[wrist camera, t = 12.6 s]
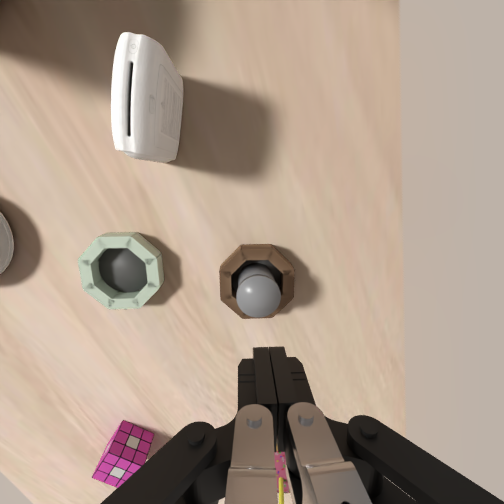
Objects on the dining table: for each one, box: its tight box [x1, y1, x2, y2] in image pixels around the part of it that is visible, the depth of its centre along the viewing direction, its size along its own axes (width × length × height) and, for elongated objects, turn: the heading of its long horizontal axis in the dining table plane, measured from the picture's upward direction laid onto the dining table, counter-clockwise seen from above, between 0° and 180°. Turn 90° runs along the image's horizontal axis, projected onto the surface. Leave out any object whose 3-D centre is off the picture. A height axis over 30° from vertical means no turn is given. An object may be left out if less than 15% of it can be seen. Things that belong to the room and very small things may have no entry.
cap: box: [236, 263, 281, 318], centre depth 38 cm, size 5×5×6 cm
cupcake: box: [274, 447, 290, 504], centre depth 44 cm, size 9×8×12 cm
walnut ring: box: [219, 244, 295, 319], centre depth 40 cm, size 10×10×2 cm
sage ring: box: [78, 232, 164, 309], centre depth 39 cm, size 10×10×2 cm
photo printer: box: [111, 32, 183, 163], centre depth 30 cm, size 10×4×12 cm, turn 171°
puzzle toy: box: [92, 420, 154, 488], centre depth 46 cm, size 6×6×6 cm
